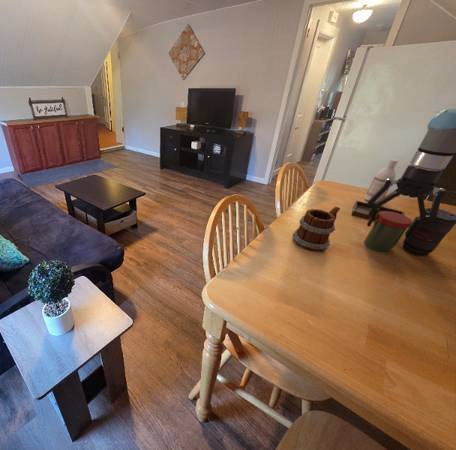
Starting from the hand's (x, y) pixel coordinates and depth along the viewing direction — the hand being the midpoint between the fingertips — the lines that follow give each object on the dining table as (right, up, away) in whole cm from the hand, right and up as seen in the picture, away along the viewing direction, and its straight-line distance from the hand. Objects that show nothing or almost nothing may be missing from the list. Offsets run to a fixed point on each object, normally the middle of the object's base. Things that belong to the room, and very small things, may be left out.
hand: (387, 229), depth 84 cm
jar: (0, -6, +4) cm, 7 cm away
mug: (-22, -4, +6) cm, 24 cm away
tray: (+17, +6, +23) cm, 29 cm away
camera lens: (+11, -7, +2) cm, 14 cm away
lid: (0, +4, -3) cm, 5 cm away
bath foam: (+27, +14, +36) cm, 47 cm away
